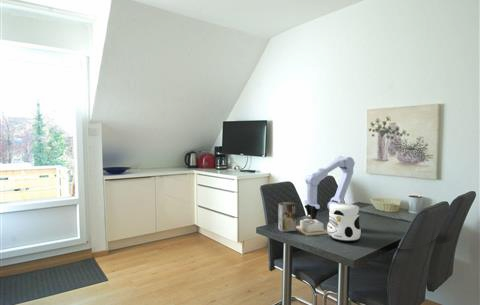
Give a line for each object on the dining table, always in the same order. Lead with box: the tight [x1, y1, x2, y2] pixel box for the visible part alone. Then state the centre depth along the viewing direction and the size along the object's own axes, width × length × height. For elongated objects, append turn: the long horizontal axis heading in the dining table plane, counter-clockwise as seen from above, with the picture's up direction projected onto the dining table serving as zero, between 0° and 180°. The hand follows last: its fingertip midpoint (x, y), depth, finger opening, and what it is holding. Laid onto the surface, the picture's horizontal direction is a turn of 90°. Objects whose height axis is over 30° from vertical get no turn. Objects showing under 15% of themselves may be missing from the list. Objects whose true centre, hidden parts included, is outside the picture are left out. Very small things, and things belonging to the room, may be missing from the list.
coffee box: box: [277, 201, 297, 233], centre depth 183 cm, size 9×6×16 cm
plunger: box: [305, 214, 317, 224], centre depth 183 cm, size 7×7×6 cm
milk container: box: [326, 202, 362, 242], centre depth 168 cm, size 17×17×18 cm
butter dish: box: [296, 218, 328, 236], centre depth 183 cm, size 16×17×5 cm
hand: (311, 218), depth 183 cm, fingers closed on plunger, 4 cm apart
